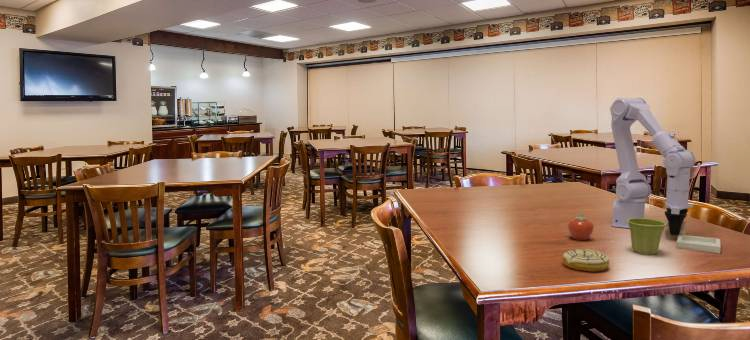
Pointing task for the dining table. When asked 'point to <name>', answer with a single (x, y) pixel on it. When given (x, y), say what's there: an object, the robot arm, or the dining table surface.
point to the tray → (698, 243)
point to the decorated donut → (586, 260)
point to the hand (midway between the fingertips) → (675, 233)
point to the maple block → (669, 236)
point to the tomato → (580, 228)
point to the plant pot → (645, 234)
